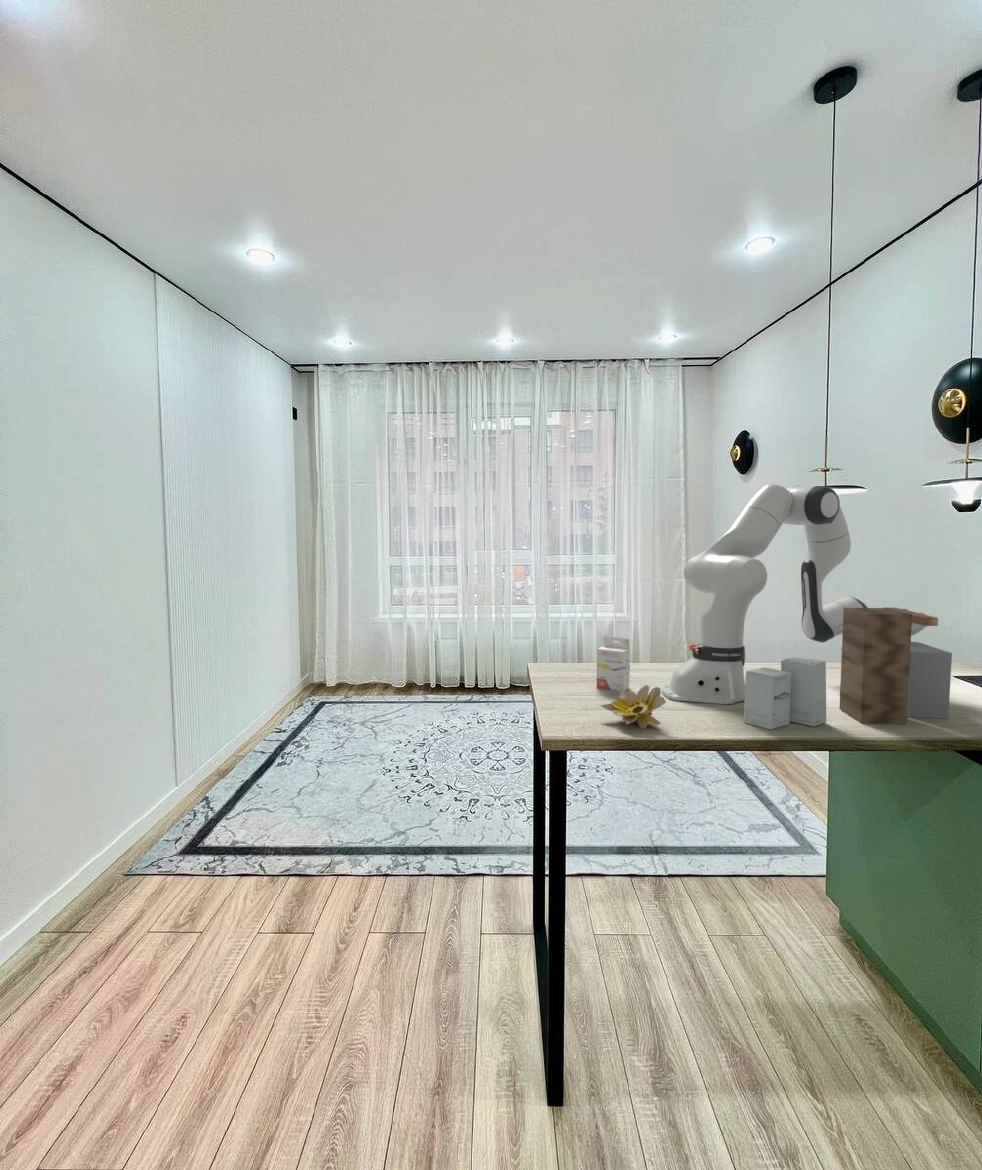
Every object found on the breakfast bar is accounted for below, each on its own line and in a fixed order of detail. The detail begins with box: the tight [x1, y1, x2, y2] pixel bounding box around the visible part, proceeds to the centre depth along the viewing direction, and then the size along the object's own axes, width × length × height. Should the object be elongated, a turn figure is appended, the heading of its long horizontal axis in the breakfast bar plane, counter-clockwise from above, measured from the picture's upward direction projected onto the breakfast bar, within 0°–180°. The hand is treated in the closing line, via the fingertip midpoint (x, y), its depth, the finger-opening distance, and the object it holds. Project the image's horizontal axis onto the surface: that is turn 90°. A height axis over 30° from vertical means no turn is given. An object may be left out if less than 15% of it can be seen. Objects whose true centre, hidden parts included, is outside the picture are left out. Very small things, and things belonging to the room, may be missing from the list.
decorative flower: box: [599, 684, 667, 730], centre depth 148 cm, size 15×11×10 cm
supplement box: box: [743, 667, 791, 731], centre depth 146 cm, size 7×7×13 cm
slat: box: [887, 607, 939, 627], centre depth 160 cm, size 3×20×2 cm, turn 173°
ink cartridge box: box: [596, 635, 631, 692], centre depth 181 cm, size 9×5×15 cm, turn 58°
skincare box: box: [780, 656, 827, 728], centre depth 148 cm, size 8×6×15 cm
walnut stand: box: [838, 607, 912, 726], centre depth 151 cm, size 10×12×26 cm
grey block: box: [907, 641, 953, 719], centre depth 158 cm, size 9×16×16 cm, turn 172°
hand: (896, 611), depth 166 cm, fingers closed on slat, 3 cm apart
